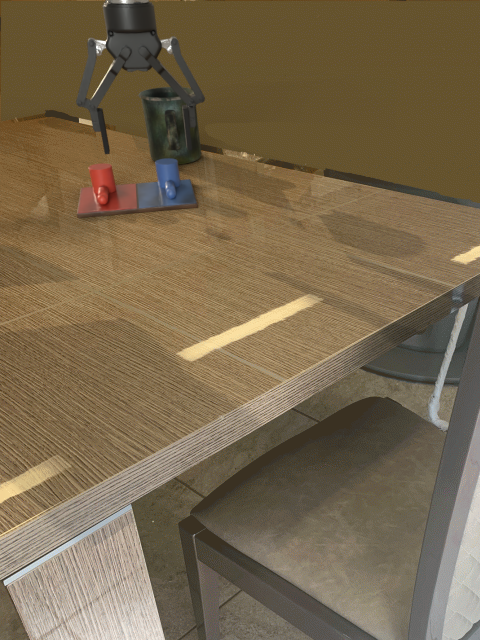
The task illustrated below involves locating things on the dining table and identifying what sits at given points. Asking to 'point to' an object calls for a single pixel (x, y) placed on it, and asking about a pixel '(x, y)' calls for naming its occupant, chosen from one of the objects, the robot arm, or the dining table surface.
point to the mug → (168, 125)
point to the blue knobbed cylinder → (168, 175)
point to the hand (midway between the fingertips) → (148, 150)
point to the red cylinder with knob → (102, 181)
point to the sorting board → (136, 199)
